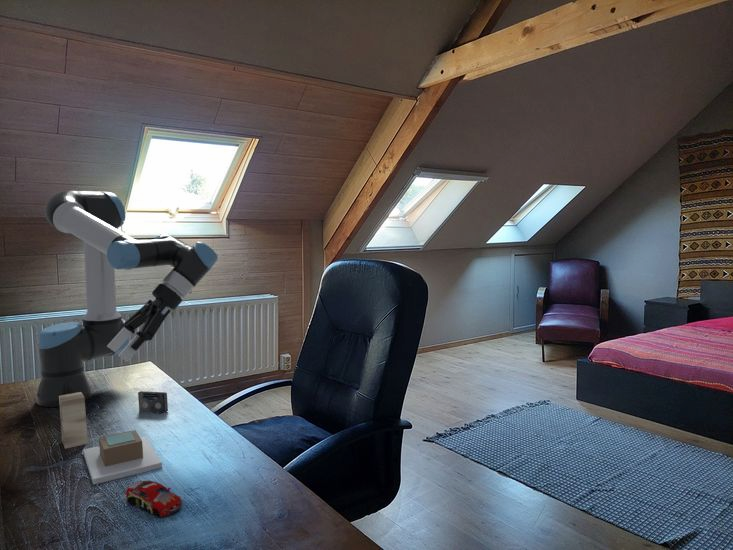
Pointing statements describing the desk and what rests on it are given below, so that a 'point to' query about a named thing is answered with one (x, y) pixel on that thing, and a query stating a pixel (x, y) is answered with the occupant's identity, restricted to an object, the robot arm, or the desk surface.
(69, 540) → the desk surface
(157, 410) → the mini dv tape
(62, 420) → the maple pillar
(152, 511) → the race car
